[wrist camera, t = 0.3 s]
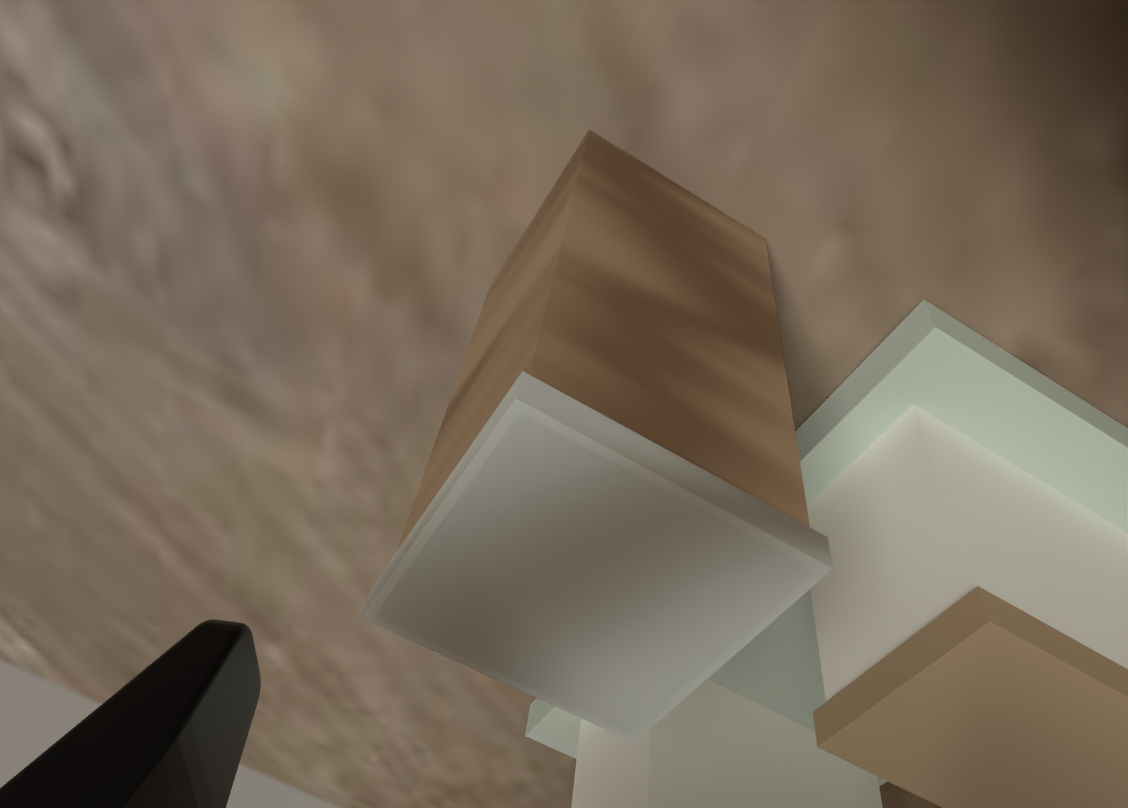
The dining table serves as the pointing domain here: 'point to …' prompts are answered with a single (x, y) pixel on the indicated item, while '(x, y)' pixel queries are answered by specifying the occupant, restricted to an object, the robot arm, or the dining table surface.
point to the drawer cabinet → (918, 609)
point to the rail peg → (612, 459)
